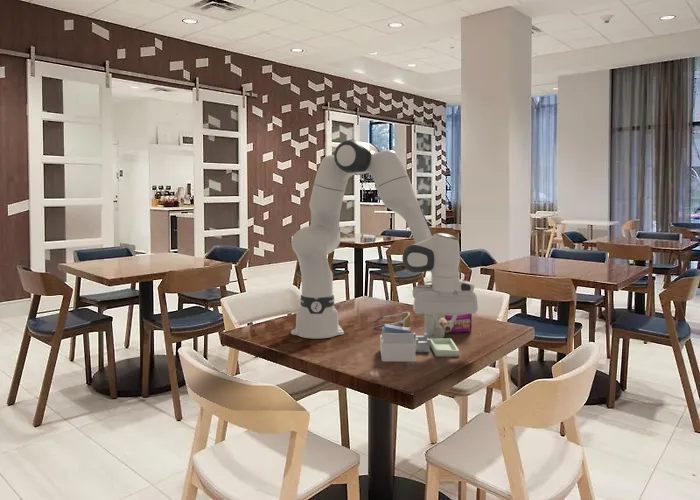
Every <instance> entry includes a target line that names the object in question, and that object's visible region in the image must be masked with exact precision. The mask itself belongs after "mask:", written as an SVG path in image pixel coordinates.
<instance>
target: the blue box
mask: <svg viewBox="0 0 700 500" xmlns="http://www.w3.org/2000/svg"><path fill="white" fill-rule="evenodd" d="M384 324H385V325H384V326H383V327H384V331H386V332H391V333H412V331H411V330H410V329H409V328H405V327H403V326H399V325H398V326H397V325H395V324H394V325H389V324H390V323H384Z"/></svg>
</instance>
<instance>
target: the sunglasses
mask: <svg viewBox="0 0 700 500" xmlns="http://www.w3.org/2000/svg"><path fill="white" fill-rule="evenodd" d="M391 317H400V320H399V321H396V322H391V323H388V324H389V325H394V326H395V325H401V324H402V327H411V322H412V319H411V313H410V312H408V311H404V312H403V311H402V312H400V313H395V314H389V315H385V316H384V315H383V316H380V317H378V318H377V319H374V320H373V321H372V323H376V322H378V321H381V320H382V319H388V318H391ZM385 324H386V323H384V324H380V325H376V326H374V327H373V326H372V329H375V330H376V329H378V328H382V327H384V325H385Z"/></svg>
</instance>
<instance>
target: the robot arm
mask: <svg viewBox="0 0 700 500" xmlns="http://www.w3.org/2000/svg"><path fill="white" fill-rule="evenodd" d="M352 175H355V176H359V175H370V176H371V177H372V180H373V181H374V184H375V187H376V190H377V192H378V195H379V198H380V200H381V202H382V203H383V205H384V207H386V208H387V209H389V210H390V211H393V212H394V213H396V214H398V215H399V216H400V217H402V218H403V220H404V221H405V222H406V224H407V226H408V228H409V231H410V233H411V235H412V238H413V241H414V242H415V243H412V244H410V245H408V246H407V247H406V248H405V249H404V251H403V252H402V257H401V258H402V264H403V266H404V268H405V269H407V271H409V272H411V273H414V274H422V273H426V272H430V273H431V274H430V275H431V278H430V279H431V283H430V284H417V285H416V286H414V287H413V288H412V297H413V298H414V299H413V304H412V305H413V307H412V308H413V312H414V313H415V314H417V315H424V314H433V317H434V318H435V320H436V326H437V327H442V322H441V321H438V319H437V317H438V314H452V316H453V318H452V319H451V321H448V323H449V325H450V326H451V327H454V321H455V320H456V318H457V314H476V313H477V312H478V308H479V307H478V298H477V295H476V293H475V292H474V290H475V285H474V284H473V283H472V282H470V281H468V280H464V279H461V278H460V276H461V275H460V271H459V266H460V263H461V259H460V258H461V255H460V253H461V252H460V250H461V249H460V243H459V240H458V237H456V236H455V235H453V234H450V233H444V232H436V233H434V234H433V232H432V230H431V228H430V225H429V223H428V221H427V218H426V216H425V215H424V212H423V210H422V208H421V206H420V204H419V201H418V199H417V196H416V193H415V191H414V188H413V186H412V182H411V180H410V177H409V175H408V172H407V170H406V167H405V165H404V164H403V161H402V159H401V158H400V156H399V154H398V153H397V152H396V151H394V150H391V149H383V150H380V148H379V147H377V146H376V145H375V144H373V143H369V142H367V141H364V140H355V139H347V140H344V141H342V142H341V143H339V144H338V145H337V146H336V148H335V151H334V154H330V155H325V156H324V157H323V158H322V159H321V162H320V163H319V166H318V168H317V172H316V175H315V178H314V181H313V186H312V190H311V195H310V196H311V197H310V199H309V204H308V205H309V209H310V225H309V226H308V225H307V226H304V227H302V228H300V229H299V230H297V231H296V232H295V233H294V234H293V235H292V237H291V248H292V251H293V252H294V253H295V255H296V257H297V260H298V265H299V269H300V275H301V277H300V278H301V294H300V299H299V301H300V307H299V308H298V309H297V311H296V312H295V313H296V314H295V315H296V317H295V320H296V321H295V328H294V329H292V330H291V331H290V334H291V335H293V336H299V337H301V338H304V339H313V340H314V339H316V340H317V339H328V338H334V337H335V336H341V335H345V333H344V330H343V328H342V326H340V324H339V323H340V321H339V311H338V310H337V309H336V308H335V295H334V294H333V293H334V291H333V290H334V289H333V288H334V286H333V284H334V282H333V281H334V280H333V279H334V274H333V271H332V269H331V268H330V264H329V260H328V255H329V254H332V253H333V252H334V251H335V250H336V249H337V248H338V247H339V246H340V244H341V233H340V218H341V217H340V216H341V211H342V205H343V200H344V197H345V191H346V188H347V183H348V180H349V179H350V177H351V176H352Z"/></svg>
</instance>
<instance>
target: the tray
mask: <svg viewBox="0 0 700 500" xmlns="http://www.w3.org/2000/svg"><path fill="white" fill-rule="evenodd" d="M429 339H430V349H431V350H432V352H433V355H434V356H435V357H436V358H442V357H444V358H455V357H456V358H460V349H459V348H458V347H457V345H456V343H455V342H454V340H453V339H452V338H448V337H447V338H429Z"/></svg>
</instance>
